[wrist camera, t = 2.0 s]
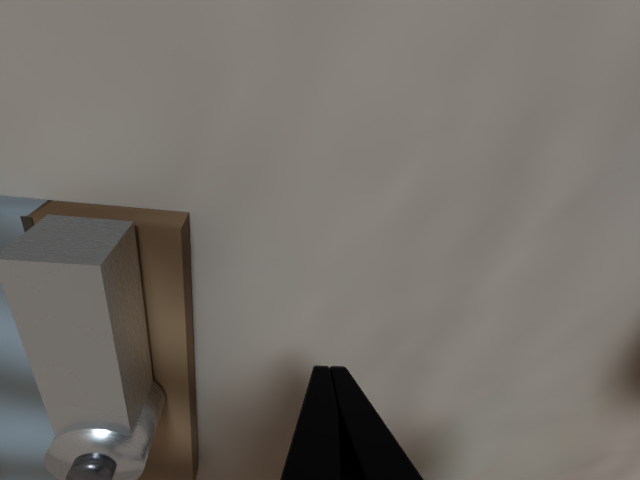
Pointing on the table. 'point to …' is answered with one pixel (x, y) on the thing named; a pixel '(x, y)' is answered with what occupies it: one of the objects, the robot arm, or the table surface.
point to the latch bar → (86, 343)
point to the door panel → (162, 330)
